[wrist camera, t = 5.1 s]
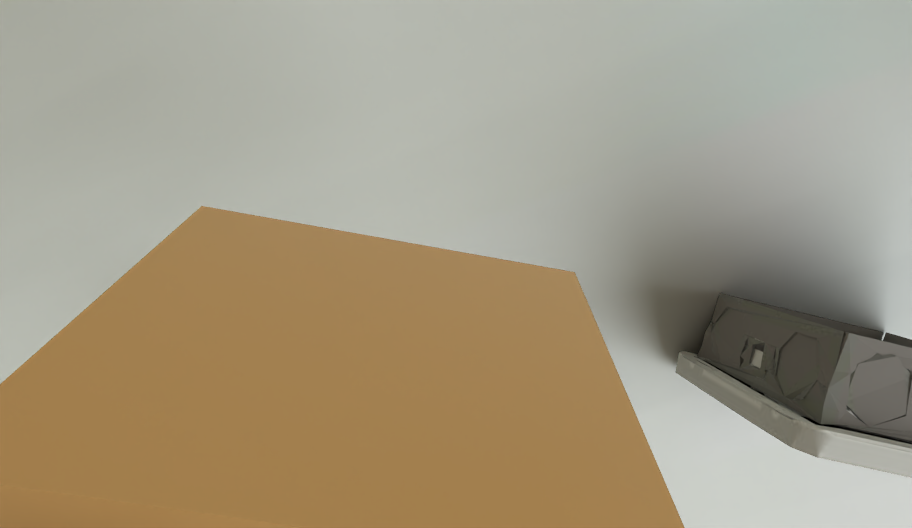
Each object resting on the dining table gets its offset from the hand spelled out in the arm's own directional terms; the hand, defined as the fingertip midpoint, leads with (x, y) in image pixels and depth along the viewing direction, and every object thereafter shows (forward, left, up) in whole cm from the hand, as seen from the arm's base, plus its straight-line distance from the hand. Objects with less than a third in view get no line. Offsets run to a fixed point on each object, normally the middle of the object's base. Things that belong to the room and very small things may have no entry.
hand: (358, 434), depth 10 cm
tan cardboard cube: (0, 0, -1) cm, 1 cm away
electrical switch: (+3, +17, -16) cm, 23 cm away
